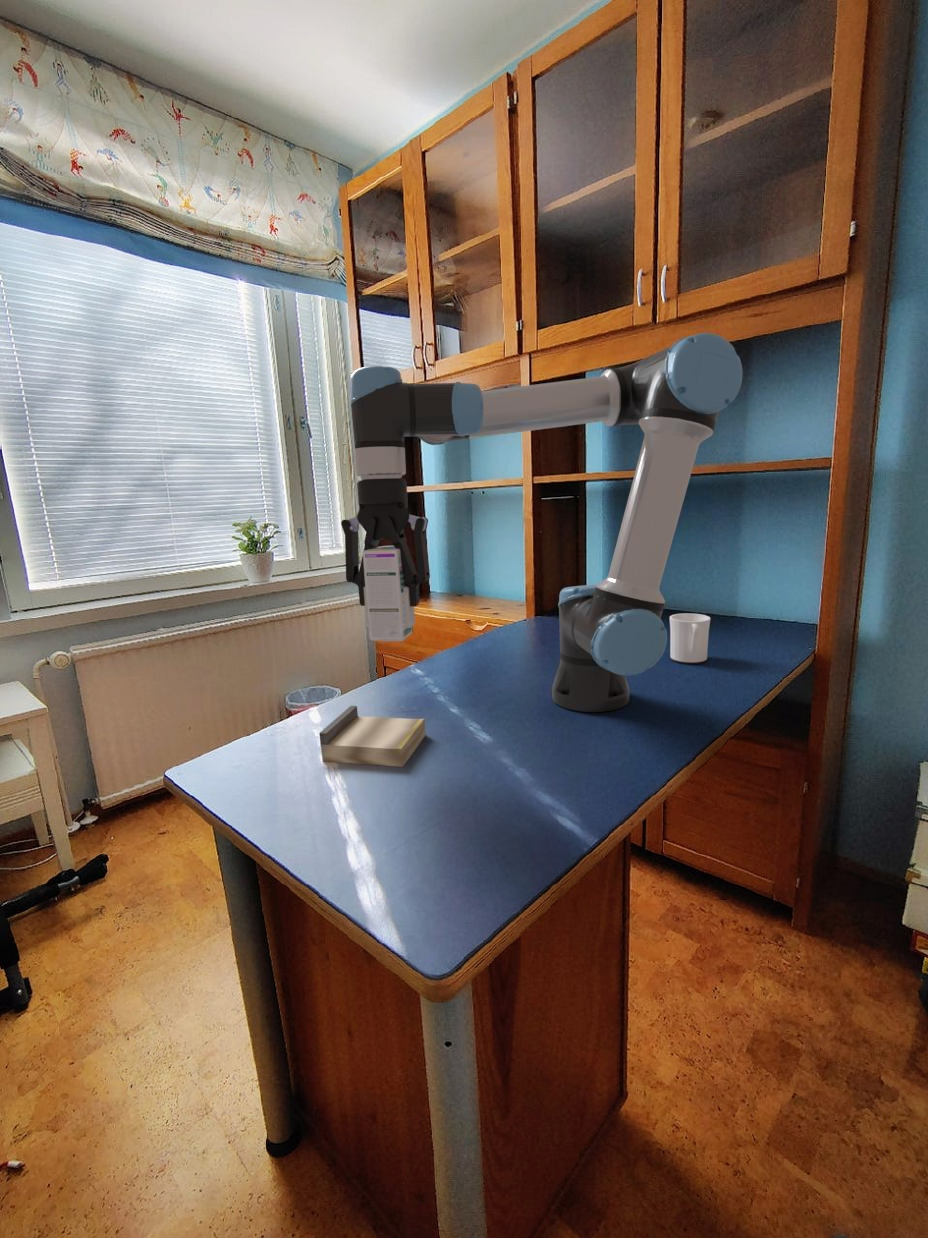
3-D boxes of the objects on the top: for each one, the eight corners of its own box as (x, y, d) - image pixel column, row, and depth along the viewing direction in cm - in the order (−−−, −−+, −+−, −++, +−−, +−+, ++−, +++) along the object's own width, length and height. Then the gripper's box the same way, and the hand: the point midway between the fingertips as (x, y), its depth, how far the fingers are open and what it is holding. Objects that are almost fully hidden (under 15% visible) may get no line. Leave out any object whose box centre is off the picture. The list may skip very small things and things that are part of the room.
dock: (425, 735, 102) (423, 708, 101) (402, 766, 91) (400, 737, 90) (353, 731, 106) (350, 705, 104) (322, 761, 94) (319, 733, 93)
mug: (665, 654, 141) (666, 613, 139) (703, 654, 140) (704, 612, 137) (674, 668, 130) (676, 624, 128) (715, 668, 129) (717, 623, 127)
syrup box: (403, 642, 89) (399, 548, 86) (367, 641, 90) (361, 549, 87) (413, 633, 95) (409, 545, 92) (379, 632, 96) (374, 545, 93)
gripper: (447, 475, 89) (453, 621, 94) (335, 480, 93) (346, 619, 98) (434, 474, 81) (441, 632, 87) (313, 479, 86) (326, 630, 91)
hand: (390, 625), depth 92 cm, fingers closed on syrup box, 6 cm apart
